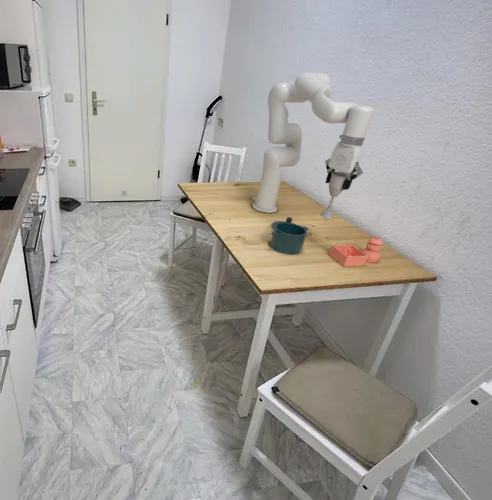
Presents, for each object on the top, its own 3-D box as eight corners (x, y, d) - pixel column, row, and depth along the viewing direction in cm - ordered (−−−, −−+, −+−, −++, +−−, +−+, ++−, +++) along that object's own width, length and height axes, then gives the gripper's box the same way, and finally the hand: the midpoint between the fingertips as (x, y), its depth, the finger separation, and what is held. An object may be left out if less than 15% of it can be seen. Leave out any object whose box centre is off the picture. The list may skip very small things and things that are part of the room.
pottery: (343, 266, 138) (352, 243, 134) (328, 254, 146) (336, 232, 142) (384, 264, 141) (394, 242, 137) (368, 252, 149) (376, 231, 145)
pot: (259, 243, 152) (263, 225, 148) (290, 237, 159) (295, 220, 155) (280, 257, 142) (285, 238, 138) (312, 250, 149) (318, 231, 145)
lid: (265, 225, 169) (268, 214, 167) (286, 221, 174) (289, 211, 172) (286, 237, 159) (289, 225, 156) (308, 233, 164) (311, 221, 161)
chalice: (314, 212, 153) (327, 171, 144) (329, 212, 154) (343, 171, 145) (323, 219, 147) (337, 176, 138) (339, 220, 147) (354, 177, 139)
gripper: (325, 136, 140) (312, 180, 149) (366, 147, 127) (349, 194, 136) (339, 135, 143) (325, 178, 152) (380, 145, 130) (362, 192, 138)
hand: (336, 185), depth 144 cm, fingers closed on chalice, 7 cm apart
